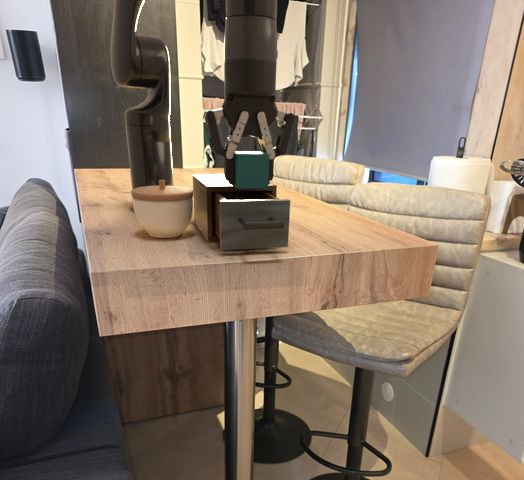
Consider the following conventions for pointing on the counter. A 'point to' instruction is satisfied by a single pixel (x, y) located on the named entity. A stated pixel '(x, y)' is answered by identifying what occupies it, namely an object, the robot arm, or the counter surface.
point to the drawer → (250, 219)
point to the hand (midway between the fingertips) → (248, 183)
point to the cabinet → (203, 200)
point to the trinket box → (163, 209)
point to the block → (251, 170)
